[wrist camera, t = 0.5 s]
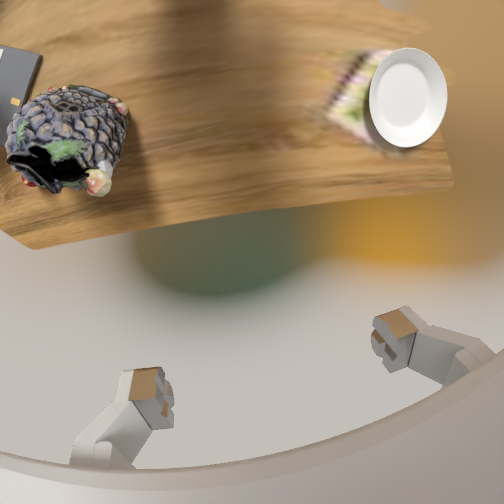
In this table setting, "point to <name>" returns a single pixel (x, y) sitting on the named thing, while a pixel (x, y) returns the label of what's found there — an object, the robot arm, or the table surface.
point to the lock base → (14, 83)
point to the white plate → (407, 97)
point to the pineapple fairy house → (68, 139)
